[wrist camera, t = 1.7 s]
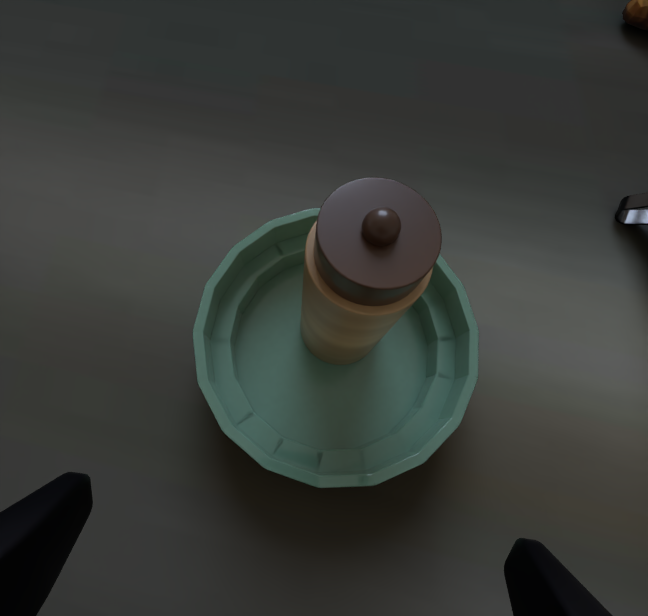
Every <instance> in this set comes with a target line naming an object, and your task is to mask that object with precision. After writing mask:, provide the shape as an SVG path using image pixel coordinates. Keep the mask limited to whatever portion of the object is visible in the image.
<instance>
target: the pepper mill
mask: <svg viewBox="0 0 648 616" xmlns="http://www.w3.org/2000/svg"><path fill="white" fill-rule="evenodd" d="M441 243H442V236H441V228H440V224H439V221H438V218H437V216H436V214H435V212H434V210H433V209H432V207H431V206H430V205H429V203H428V202H427V201H426V200H425V199H424V198H423V197H422V196H421V195H420V194H419V193H417V192H416V191H415V190H413V189H412V188H410V187H408V186H406V185H404V184H402V183H400V182H397V181H394V180H390V179H386V178H376V177H370V178H361V179H357V180H353V181H351V182H348V183H346V184H344V185H342V186H340V187H339V188H337V189H336V190H335V191H334V192H333V193H331V194H330V195H329V197H328V198H327V199H326V200H325V202H324V203H323V205H322V206H321V209H320V211H319V213H318V217H317V220H316V222H315V223H314V224H313V226H312V228H311V229H310V232H309V234H308V237H307V240H306V245H305V257H304V273H303V289H302V305H301V322H300V330H301V335H302V339H303V341H304V343H305V345H306V347H307V348H308V349H309V351H310V352H311V353H312V354H313V355H314V356H316V357H317V358H318V359H320V360H322V361H324V362H327V363H330V364H334V365H347V364H351V363H354V362H357V361H359V360H360V359H362V358H364V357H365V356H366V355H367V354H368V353H369V352H370V351H371V350H372V349H373V347H374V346H375V345H376V344H377V343H378V342H379V341H380V340H381V339H382V338H383V336H384V335H385V334H386V333H387V332H388V331H389V330H390V329H391V328H392V327H393V326H394V324H395V323H396V322H397V321H398V320H399V319H400V318H401V317H402V316H403V315H404V313H405V312H406V311H407V310H408V309H409V308H410V307H411V306H412V305H413V304H414V302H415V301H416V300H417V299H418V298H419V297H420V296H421V295H422V294H423V292H424V290H425V289H426V287H427V285H428V283H429V281H430V278H431V274H432V269H433V266H434V264H435V263H436V261H437V259H438V256H439V253H440V250H441Z"/></svg>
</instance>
